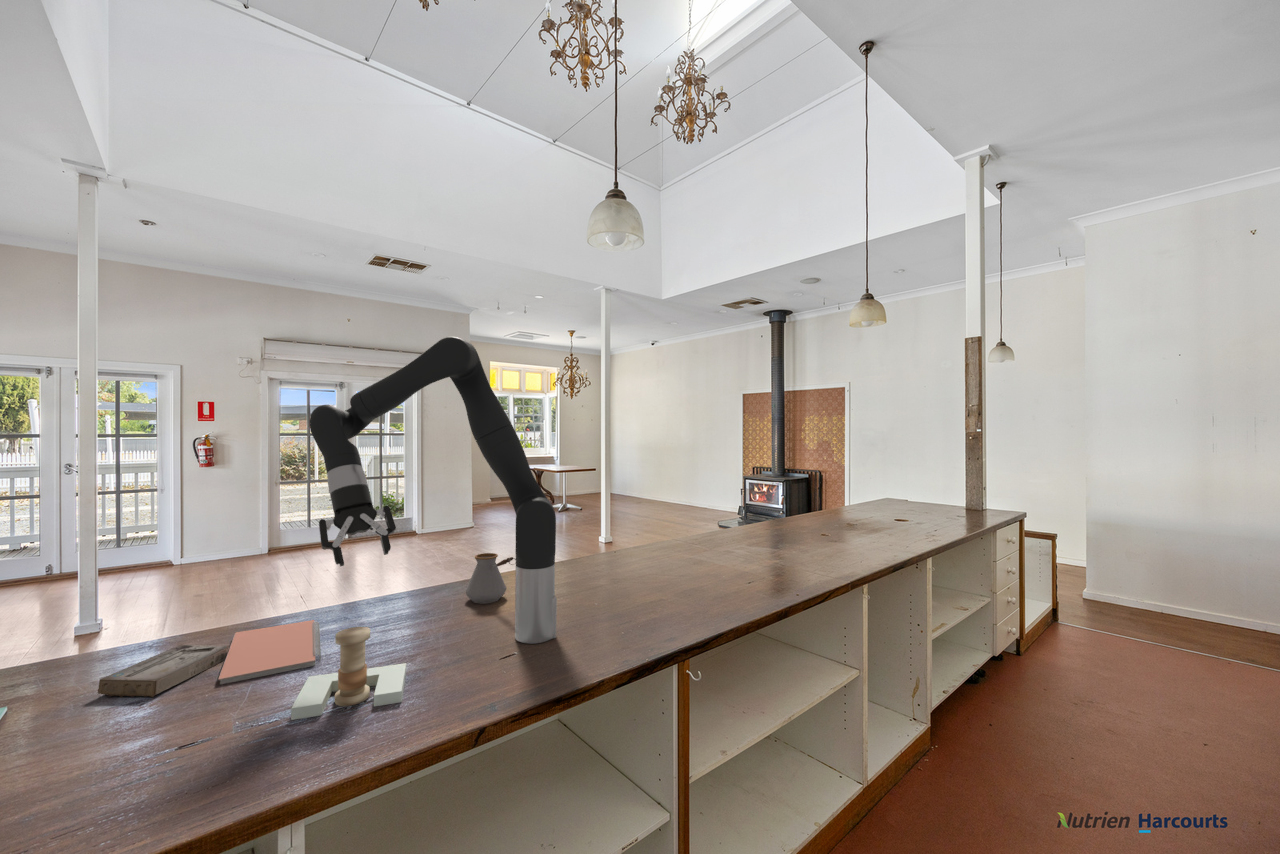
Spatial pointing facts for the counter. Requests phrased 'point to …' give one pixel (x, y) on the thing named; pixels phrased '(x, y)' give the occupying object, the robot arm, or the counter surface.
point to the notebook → (271, 651)
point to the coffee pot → (487, 579)
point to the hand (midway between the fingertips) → (364, 559)
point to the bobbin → (352, 666)
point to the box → (162, 670)
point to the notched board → (322, 686)
